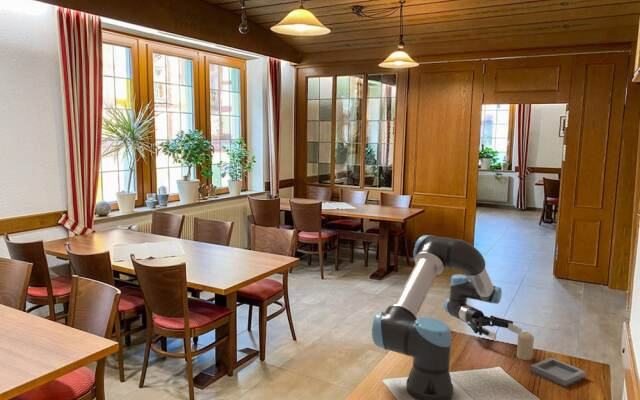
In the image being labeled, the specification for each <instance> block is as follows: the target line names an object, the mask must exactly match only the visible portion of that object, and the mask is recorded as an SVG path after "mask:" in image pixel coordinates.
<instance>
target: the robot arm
mask: <svg viewBox="0 0 640 400" xmlns="http://www.w3.org/2000/svg"><path fill="white" fill-rule="evenodd" d="M412 255H413V260H414V263H415V265H414V267H413V269H412V270H411V273H410V274H409V276H408V278H407V280H406V281H405V284H404V286H403V287H402V289H401V291H400V293H399V295H398V296H397V298H396V300H395V303H394V304H391V305H389V306H387V308H386V309H385V311H384V312H383V311H379V312H377V313H376V314H375V315H374V317H373V320H372V325H371V338H372V339H371V340H372V341H373V343H374V346H376V347H378V348H381V349H384V350H386V351H391V352H394V353H398V354H401V355H404V356H408V357H411V358H412V367H411V370H410V373H409V374H408V377H407V379H406V382H405V383H406V385H405V386H406V387H405V389H406V392H407V393H408V394H409V395H410V396H411V397H413V398H415V399H416V400H452V398H453V397H454V385H453V382H452V378H451V374H450V363H451V351H452V350H451V348H452V344H453V343H452V330H451V328H450V327H449V325H448V324H447V323H445V322H443V321H442V320H439V319H436V318H434V317H427V316H423V317H422V316H420V317H417V316H418V313H419V311H421V307H422V306H423V303H424V301H425V299H426V298H427V295H428V293H429V291H430V289H431V287H432V285H433V284H434V281H435V279H436V277H437V276H439V275H441V274H442V273H443V271H444V270H445V269H450V270H452V269H453V270H458V271H462V272H463V274H458V273H457V274H453V275H452V276H451V279H450V284H449V285H450V286H449V298H447V299H446V300H445V302H444V304H443V309H444V311H445V312H446V313H448V314H449V316H452V317H455V318H456V319H459V320H460V321H462V322H464V323H466V324H467V326H468V327H470V328H471V330H472V331H473V333H474V334H476V335H477V334H478V335H479V336H482V335H485V336H486V337H487V338H490V339H492V340H494V341H497V332H495V331H493V330H491V329H489V328H488V327H497V328H498V327H499V328H505V329H507V330H509V331H511V332H513V333H515V334H517V335H519V334H520V333H522V332H523V327H520V326H517V325H515V324H514V321H512V320H509V319H505V318H502V317H501V318H500V317H497V316H494V315H490V316H489V317H488V316H487V315H485V313H484V312H483V311H482V310H480V309H478V308H476V307H474V306H472V305H470V304H467V299H470V300H475V301H481V302H485V303H489V304H498V305H499V304H500V302H501V298H502V295H503V293H502V290H503V289H502V288H501V287H500V286H496V285H493V283H492V281H491V277H490V276H489V273H488V271H487V269H486V260H485V258H484V256H483V254H482V253H481V252H480V251H479V250H478V249H477V248H476V247H475V246H473V245H472V244H471V243H469V242H467V241H465V240H463V239H458V238H451V237H444V236H437V235H432V234H431V235H428V234H425V235H422V236H420V237H419V238H418V239H417V240H416V242H415V245H414V249H413V253H412ZM464 274H465V275H464ZM487 326H488V327H487ZM452 396H453V397H452Z"/></svg>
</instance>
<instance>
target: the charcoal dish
mask: <svg viewBox="0 0 640 400" xmlns="http://www.w3.org/2000/svg"><path fill="white" fill-rule="evenodd" d="M529 372H530V373H531V374H534V375H536V376H538V377H540V378H542V379H545V380H547V381H549V382H552V383H554V384H556V385H559V386H560V387H563V388H564V389H565V388H567V387H570V386H572V385H574V384H576V383H578V382H581V381H582V380H584V379H586V374H587V371H585V370H583V369H581V368H578V367H576V366H573V365H571V364H568V363H565V362H563V361H561V360H559V359H556V358H554V357H548V358H545V359H543V360H541V361H539V362H536V363H533V364H530V369H529Z"/></svg>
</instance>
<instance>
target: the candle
mask: <svg viewBox="0 0 640 400" xmlns="http://www.w3.org/2000/svg"><path fill="white" fill-rule="evenodd" d="M517 336H518V337H517V347H516V357H517V358H518V359H519V360H523V361H531V360H533V355H534V354H533V351H534V341H535V338H534V336H533V334H531V332H530V331H524V332H523V331H522V333H520V334H517Z"/></svg>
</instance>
